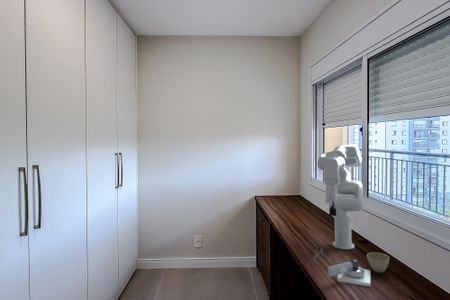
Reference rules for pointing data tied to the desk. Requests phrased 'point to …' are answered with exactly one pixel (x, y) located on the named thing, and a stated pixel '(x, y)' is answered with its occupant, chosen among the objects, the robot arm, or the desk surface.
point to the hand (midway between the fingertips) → (332, 215)
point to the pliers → (321, 254)
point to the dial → (347, 269)
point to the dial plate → (356, 279)
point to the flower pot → (378, 261)
